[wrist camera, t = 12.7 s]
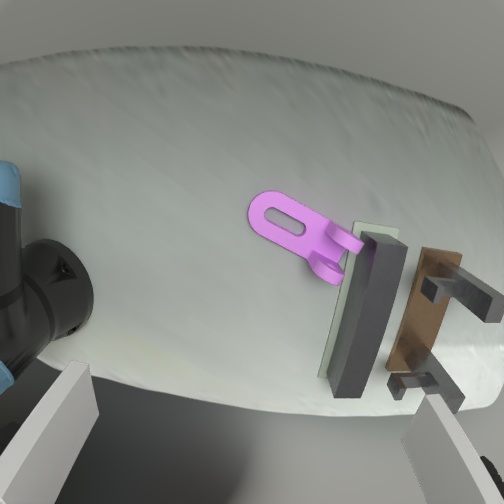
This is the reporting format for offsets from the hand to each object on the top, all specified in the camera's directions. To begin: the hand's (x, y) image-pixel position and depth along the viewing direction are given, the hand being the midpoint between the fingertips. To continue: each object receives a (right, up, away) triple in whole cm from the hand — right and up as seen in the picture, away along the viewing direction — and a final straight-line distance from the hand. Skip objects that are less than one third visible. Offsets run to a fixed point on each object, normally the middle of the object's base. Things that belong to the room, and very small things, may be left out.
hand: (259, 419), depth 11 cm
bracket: (+5, +9, +30) cm, 32 cm away
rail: (+14, -2, +32) cm, 35 cm away
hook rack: (+24, -3, +33) cm, 41 cm away
